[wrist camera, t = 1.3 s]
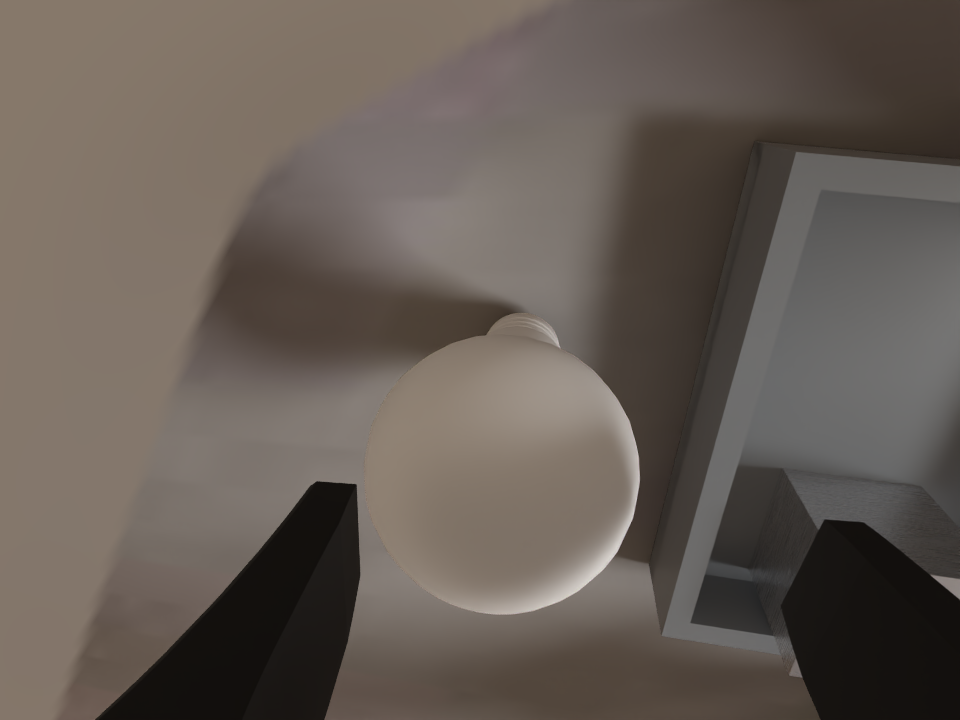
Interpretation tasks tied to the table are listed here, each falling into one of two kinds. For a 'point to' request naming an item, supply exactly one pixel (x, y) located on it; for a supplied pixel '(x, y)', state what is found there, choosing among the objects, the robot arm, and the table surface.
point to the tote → (813, 366)
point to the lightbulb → (502, 471)
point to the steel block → (820, 496)
